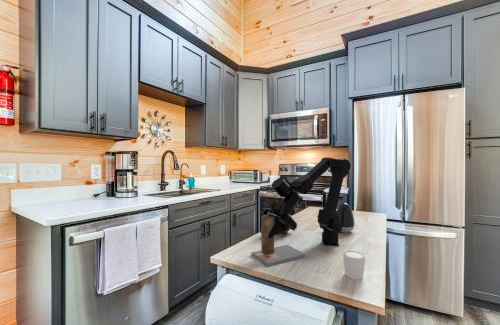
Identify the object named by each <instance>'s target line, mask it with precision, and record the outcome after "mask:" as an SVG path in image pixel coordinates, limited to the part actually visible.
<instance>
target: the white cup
mask: <svg viewBox="0 0 500 325" xmlns="http://www.w3.org/2000/svg"><path fill="white" fill-rule="evenodd" d="M342 256H343V265H344V276H346V277H347V278H349V279H352V280H362V279H363V278H364V272H365V264H366V255H365V254H364V253H362V252H359V251H354V250H353V251H352V250H346V251H344V252H343V255H342Z"/></svg>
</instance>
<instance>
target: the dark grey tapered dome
mask: <svg viewBox="0 0 500 325" xmlns="http://www.w3.org/2000/svg"><path fill="white" fill-rule="evenodd" d="M336 211H337V214H338V222H339V224H340V225H341V226H342V231H341V232H340V233H343V234H344V233H345V234H347V233H350V232H352V231H353V230H354V228H355V225H356V224H355V217H354V213H353V210H352V208H351V206H350V204H348V203H347V202H342V203H340V204H339V205H337V208H336Z"/></svg>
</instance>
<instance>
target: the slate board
mask: <svg viewBox="0 0 500 325" xmlns="http://www.w3.org/2000/svg"><path fill="white" fill-rule="evenodd" d="M250 253H251V256H252V257H254V258H255V259H257V260H258V261H259V262H261V263H262V264H264V265H265V266H266V267H270V266H274V265H279V264H282V263H287V262H290V261H294V260H299V259H301V258H305V257H306V253H304V252H302V251H301V250H298V249H296V248H294V247H293V246H290V245H289V244H283V245H280V246H274V254H271V255H265V254H263V253H262V249H260V250H256V251H252V252H250Z"/></svg>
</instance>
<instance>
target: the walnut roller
mask: <svg viewBox="0 0 500 325" xmlns="http://www.w3.org/2000/svg"><path fill="white" fill-rule="evenodd" d="M260 219H261V227H260V232H261V233H260V234H261V235H260V236H261V237H260V238H261V249H260V250H262V253H263V254H265V255H271V254H274V247H275V236H273V237H271V238H268V235H269V233H270V231H271V230H272V228H273V227H274V216H272V215H263V214H262V215H261V216H260Z"/></svg>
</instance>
